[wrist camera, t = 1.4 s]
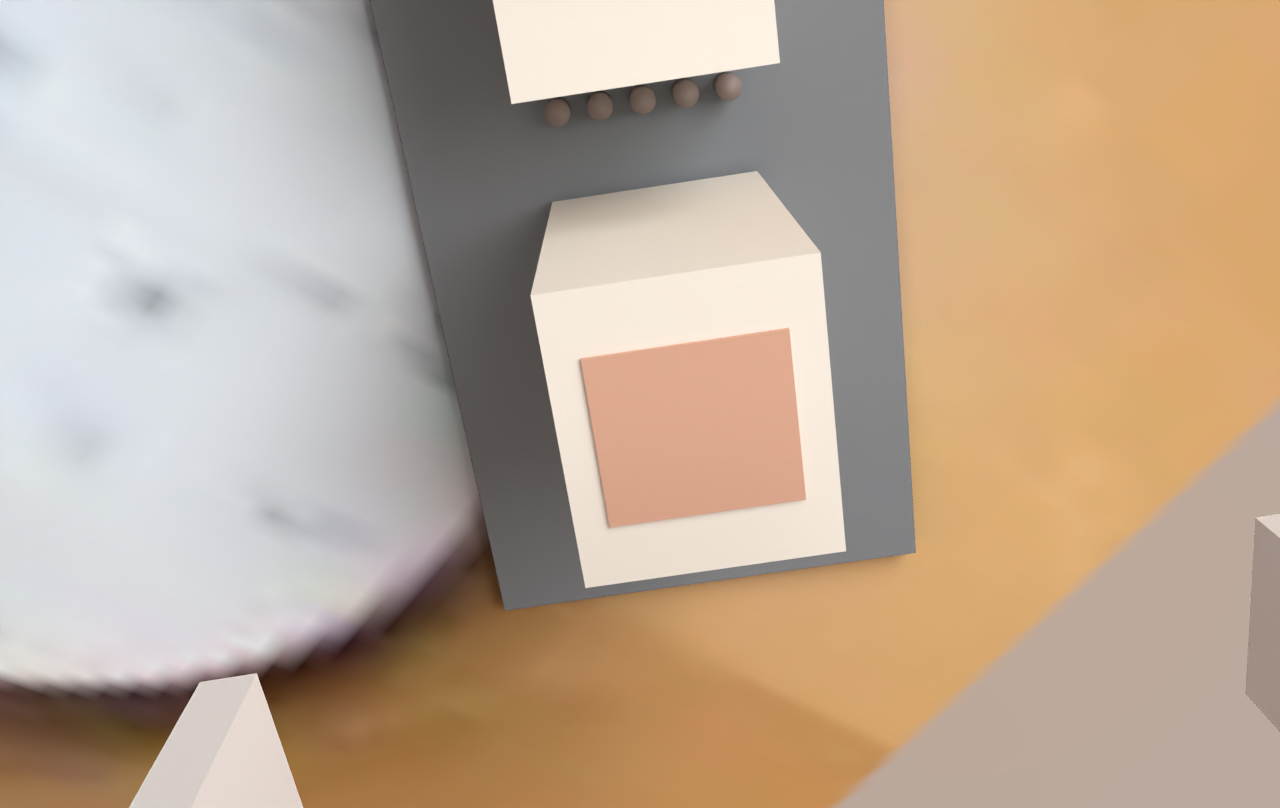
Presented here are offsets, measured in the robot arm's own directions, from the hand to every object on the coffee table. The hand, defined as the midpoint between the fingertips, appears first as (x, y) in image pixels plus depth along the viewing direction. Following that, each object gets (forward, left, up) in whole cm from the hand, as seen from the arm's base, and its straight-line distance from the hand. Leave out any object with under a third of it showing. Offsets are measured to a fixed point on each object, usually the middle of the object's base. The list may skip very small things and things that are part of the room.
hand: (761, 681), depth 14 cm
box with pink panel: (0, 0, -20) cm, 20 cm away
